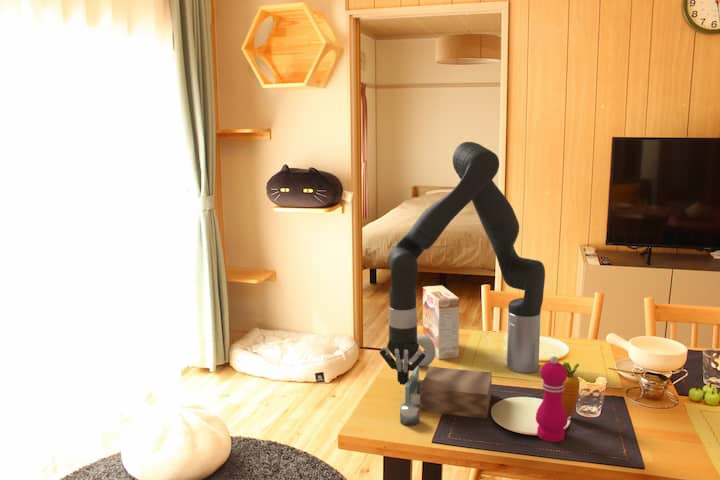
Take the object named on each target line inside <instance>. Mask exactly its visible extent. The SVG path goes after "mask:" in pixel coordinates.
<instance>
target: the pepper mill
mask: <svg viewBox="0 0 720 480" xmlns="http://www.w3.org/2000/svg"><path fill="white" fill-rule="evenodd" d="M549 360H550V361H548V362H545V363H544V364H543V365H542V366H541V368H540V372H539V374H540V378H541V379H542V381H541V384H542V385H541V388H542V389H543V398H542V401H541V403H540V405H539V406H538V408H537V409H536V410H537V411H536V412H535V413H536V414H535V421H536V423H537V428H536V429H537V431H536V432H537V433H536V434H537V437H539V438H540V439H541V440H543V441H546V442H548V443H549V442H550V443H557V442H562V441H563V440H564V439H565V436H566V435H565V434H566V429H565V428H566V426H567V425H568V422H569V421H568V418H567V413H566V411H565V408H564V406H563V404H562V399H561V394H562V391H563V390H564V383H563V382H564V381H565V380H566V378H567V370H566V368H565V367H564V366H563V363H561V362H559V358H558V357H557V356H551V357H550V359H549Z"/></svg>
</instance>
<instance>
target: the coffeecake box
mask: <svg viewBox="0 0 720 480" xmlns="http://www.w3.org/2000/svg"><path fill="white" fill-rule="evenodd" d="M422 335H424V336H426V337H428V338H429V339H430V340H431V341H432V342H433V344H434V346H435V351H436V354H435V358H437V359H438V360H446V359H454V358H455V359H456V358H459V357H460V356H459V354H460V352H459V351H460V349H459V348H460V346H459V344H460V297H458V296H457V295H455V294H454V293H453V292H451V291H450V290H449V289H448V288H446V287H445V286H444V285H442V284H441V285H432V286H431V285H428V286H423V287H422Z"/></svg>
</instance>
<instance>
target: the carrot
mask: <svg viewBox="0 0 720 480" xmlns="http://www.w3.org/2000/svg"><path fill="white" fill-rule="evenodd" d="M562 365H563V366H564V367H565V368H566V370H567V378H566V380H565V381H564V382H563V383H564V390H563V391H562V394H561V399H562V404H563V406H564V408H565V411H566V413H567V417H569V418H570V417H571V416H572V414H573V413H574V411H575V409H576V407H577V403H578V399H579V392H580V382H581V381H580V379H579V377H578V376H577V375H576V374H575V372H576V371H577V369H578V367H579V366H580V364H579V363H575V364H574V367H573V368H572V367H571V365H570V362H566V361H563V362H562Z"/></svg>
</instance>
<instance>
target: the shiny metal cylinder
mask: <svg viewBox="0 0 720 480" xmlns="http://www.w3.org/2000/svg"><path fill="white" fill-rule="evenodd" d="M399 422H400V424H401V425H403V426H406V427H415V426H418V425H419V424H420V404H416V403H412V402H406V403H405V402H403V403H401V404H400V406H399Z"/></svg>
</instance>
